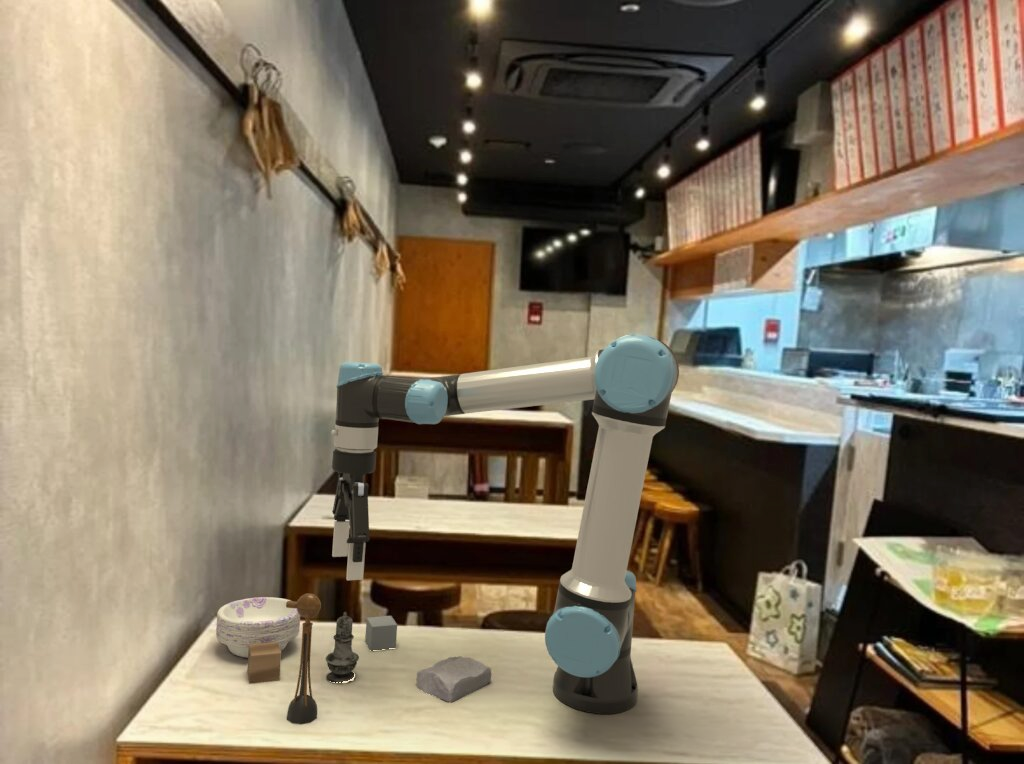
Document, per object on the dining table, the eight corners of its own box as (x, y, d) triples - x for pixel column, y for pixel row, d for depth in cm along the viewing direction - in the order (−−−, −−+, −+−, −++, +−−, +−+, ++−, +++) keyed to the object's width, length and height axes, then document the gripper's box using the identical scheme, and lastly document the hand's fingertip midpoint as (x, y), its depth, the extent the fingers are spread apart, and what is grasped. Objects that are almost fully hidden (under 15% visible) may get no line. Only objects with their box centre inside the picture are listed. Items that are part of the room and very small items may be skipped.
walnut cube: (279, 680, 130) (281, 652, 130) (249, 684, 128) (251, 655, 128) (276, 668, 135) (277, 641, 134) (247, 671, 133) (248, 644, 132)
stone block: (410, 697, 131) (452, 705, 125) (408, 669, 132) (450, 676, 126) (454, 679, 141) (495, 685, 135) (453, 653, 141) (494, 658, 135)
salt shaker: (364, 675, 134) (368, 610, 134) (344, 687, 129) (348, 620, 129) (338, 667, 137) (342, 603, 136) (317, 679, 132) (321, 612, 131)
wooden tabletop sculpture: (275, 721, 116) (282, 596, 116) (287, 707, 121) (294, 586, 120) (311, 725, 116) (318, 600, 115) (322, 711, 120) (329, 590, 120)
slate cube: (395, 649, 147) (397, 624, 147) (370, 652, 145) (372, 626, 144) (389, 639, 151) (390, 615, 151) (365, 642, 149) (366, 617, 149)
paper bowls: (257, 627, 153) (259, 589, 152) (315, 645, 146) (317, 605, 146) (196, 652, 139) (199, 611, 138) (257, 673, 132) (260, 629, 132)
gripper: (321, 438, 141) (314, 548, 142) (347, 461, 118) (338, 591, 119) (361, 439, 144) (353, 546, 145) (393, 461, 121) (384, 589, 122)
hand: (346, 567), depth 132 cm, fingers open, 13 cm apart
